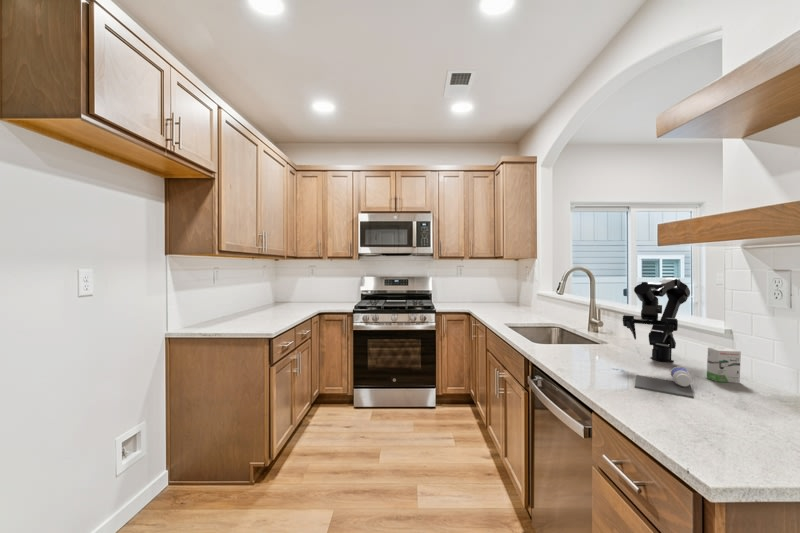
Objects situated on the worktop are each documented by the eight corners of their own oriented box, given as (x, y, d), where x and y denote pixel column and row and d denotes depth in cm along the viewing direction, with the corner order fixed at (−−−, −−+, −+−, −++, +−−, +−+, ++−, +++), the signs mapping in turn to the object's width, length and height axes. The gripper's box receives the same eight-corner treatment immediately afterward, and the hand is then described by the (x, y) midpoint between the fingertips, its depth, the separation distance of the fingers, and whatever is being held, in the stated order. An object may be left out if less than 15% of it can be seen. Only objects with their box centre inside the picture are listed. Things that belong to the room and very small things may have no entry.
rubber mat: (636, 376, 140) (636, 374, 140) (690, 385, 130) (690, 383, 130) (634, 387, 127) (634, 385, 127) (693, 398, 117) (693, 396, 117)
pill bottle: (667, 371, 135) (669, 377, 127) (681, 363, 133) (684, 369, 125) (678, 384, 133) (682, 391, 125) (693, 376, 131) (697, 383, 123)
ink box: (716, 382, 134) (717, 350, 134) (705, 377, 139) (706, 346, 139) (740, 382, 134) (741, 350, 134) (729, 378, 139) (730, 347, 139)
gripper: (623, 296, 156) (620, 327, 148) (678, 298, 145) (678, 333, 137) (624, 310, 163) (622, 341, 155) (677, 313, 152) (677, 347, 144)
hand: (648, 340), depth 148 cm, fingers open, 9 cm apart
